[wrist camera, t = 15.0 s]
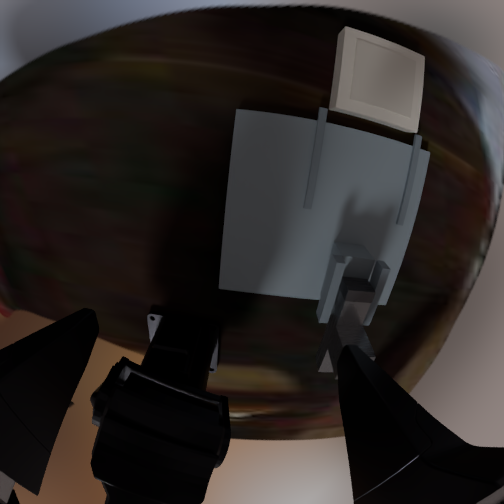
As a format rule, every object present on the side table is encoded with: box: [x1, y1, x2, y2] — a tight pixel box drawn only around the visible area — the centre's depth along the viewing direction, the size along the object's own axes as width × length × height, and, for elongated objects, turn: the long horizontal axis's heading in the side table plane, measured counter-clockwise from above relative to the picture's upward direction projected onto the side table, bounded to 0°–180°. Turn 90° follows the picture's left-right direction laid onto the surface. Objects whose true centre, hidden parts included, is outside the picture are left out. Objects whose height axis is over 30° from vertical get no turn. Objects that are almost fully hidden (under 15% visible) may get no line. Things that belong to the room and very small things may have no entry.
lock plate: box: [219, 107, 430, 325], centre depth 17 cm, size 14×14×4 cm
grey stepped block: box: [316, 276, 376, 379], centre depth 17 cm, size 7×2×5 cm, turn 173°
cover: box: [329, 26, 425, 133], centre depth 14 cm, size 6×6×2 cm
